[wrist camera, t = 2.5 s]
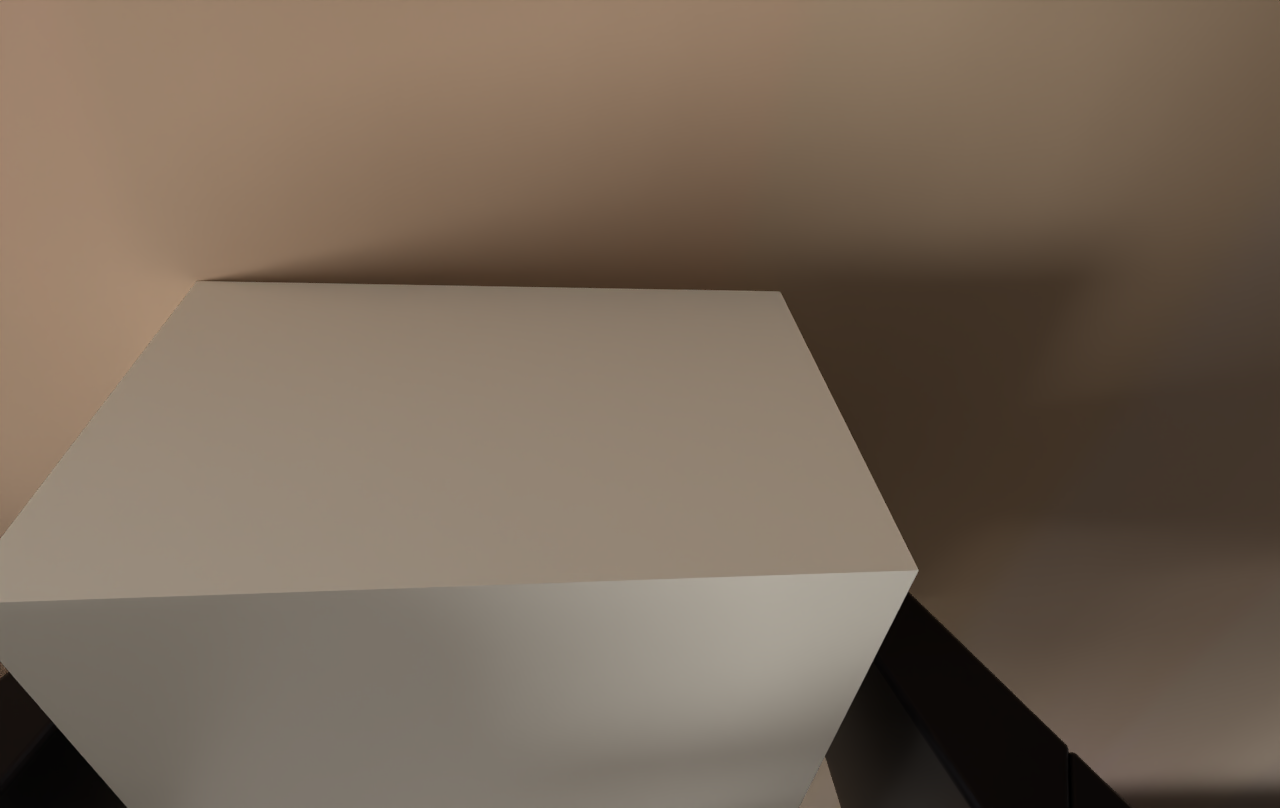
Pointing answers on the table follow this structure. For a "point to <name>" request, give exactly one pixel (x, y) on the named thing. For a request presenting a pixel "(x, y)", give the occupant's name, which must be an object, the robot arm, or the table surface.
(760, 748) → the middle block
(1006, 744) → the robot arm
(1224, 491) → the table surface
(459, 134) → the table surface
